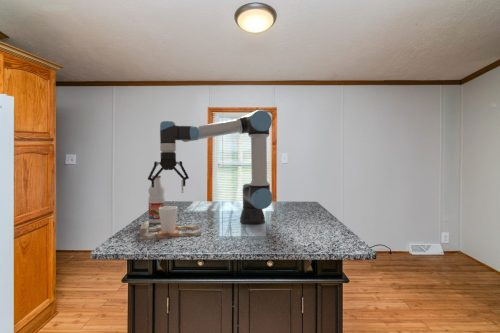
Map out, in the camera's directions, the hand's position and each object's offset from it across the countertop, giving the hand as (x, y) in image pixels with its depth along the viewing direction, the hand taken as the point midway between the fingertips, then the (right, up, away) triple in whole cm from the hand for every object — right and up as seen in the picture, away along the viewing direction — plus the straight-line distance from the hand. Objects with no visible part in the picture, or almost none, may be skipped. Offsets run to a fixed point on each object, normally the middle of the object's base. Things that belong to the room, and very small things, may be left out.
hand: (168, 193), depth 152 cm
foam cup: (0, -21, 0) cm, 21 cm away
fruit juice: (-15, -20, +27) cm, 36 cm away
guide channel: (+1, -21, +1) cm, 21 cm away
